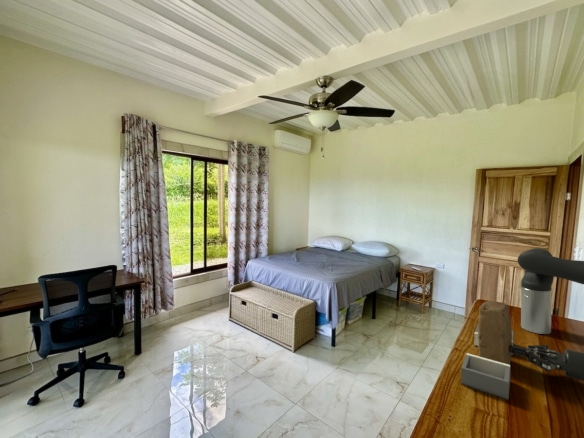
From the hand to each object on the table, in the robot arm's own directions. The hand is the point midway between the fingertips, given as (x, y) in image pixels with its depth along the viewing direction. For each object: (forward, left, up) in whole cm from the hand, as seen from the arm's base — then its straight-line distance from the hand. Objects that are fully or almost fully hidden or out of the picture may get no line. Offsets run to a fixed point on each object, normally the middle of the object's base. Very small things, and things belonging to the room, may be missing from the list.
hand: (509, 348), depth 88 cm
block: (-2, -3, -6) cm, 7 cm away
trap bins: (-2, -5, -6) cm, 8 cm away
